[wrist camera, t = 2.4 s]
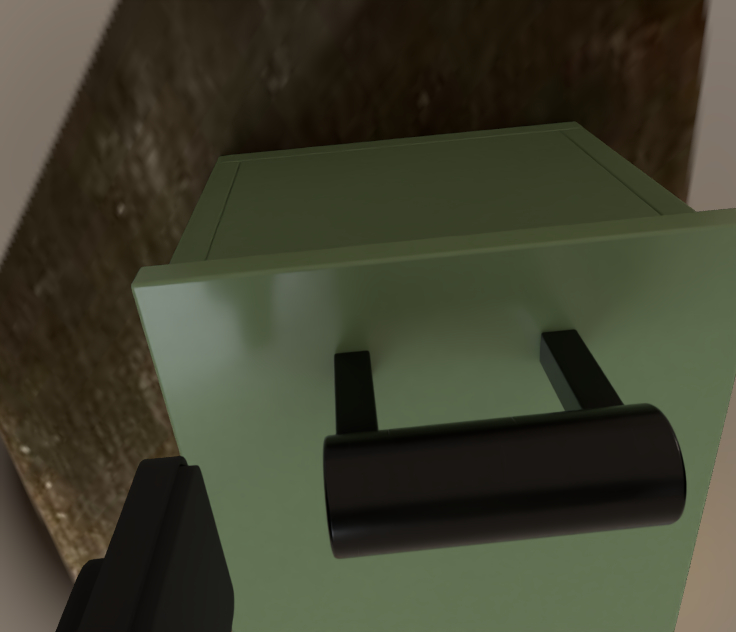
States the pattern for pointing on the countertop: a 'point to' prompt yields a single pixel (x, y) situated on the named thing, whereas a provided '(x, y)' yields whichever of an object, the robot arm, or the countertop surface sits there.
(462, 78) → the countertop surface
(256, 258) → the bin lid
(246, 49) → the countertop surface
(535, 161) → the trash bin
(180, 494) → the robot arm
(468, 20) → the countertop surface
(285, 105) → the countertop surface
